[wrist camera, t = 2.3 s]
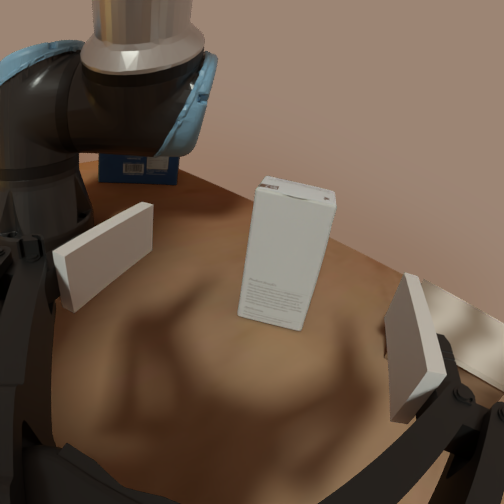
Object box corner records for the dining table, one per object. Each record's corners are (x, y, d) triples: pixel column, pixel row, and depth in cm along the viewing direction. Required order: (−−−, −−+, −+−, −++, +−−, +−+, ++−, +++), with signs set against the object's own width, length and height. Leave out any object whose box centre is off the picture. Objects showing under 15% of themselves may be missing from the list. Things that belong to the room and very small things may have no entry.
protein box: (108, 168, 62) (112, 96, 54) (178, 170, 66) (186, 99, 58) (96, 183, 53) (100, 99, 46) (177, 185, 57) (186, 102, 50)
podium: (377, 357, 26) (395, 324, 24) (410, 307, 34) (423, 278, 32) (487, 421, 19) (514, 391, 17) (496, 356, 27) (514, 329, 25)
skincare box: (304, 306, 31) (338, 189, 25) (300, 335, 27) (341, 206, 22) (244, 291, 32) (266, 172, 26) (232, 318, 28) (255, 185, 22)
